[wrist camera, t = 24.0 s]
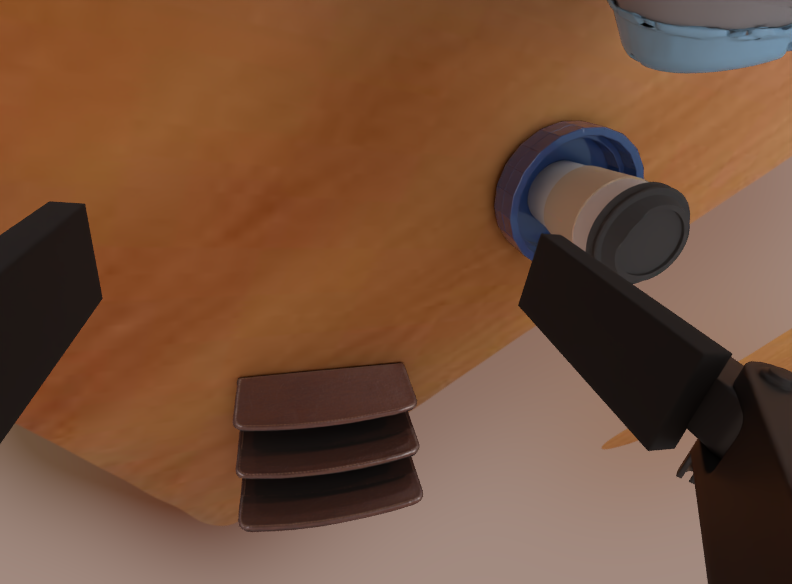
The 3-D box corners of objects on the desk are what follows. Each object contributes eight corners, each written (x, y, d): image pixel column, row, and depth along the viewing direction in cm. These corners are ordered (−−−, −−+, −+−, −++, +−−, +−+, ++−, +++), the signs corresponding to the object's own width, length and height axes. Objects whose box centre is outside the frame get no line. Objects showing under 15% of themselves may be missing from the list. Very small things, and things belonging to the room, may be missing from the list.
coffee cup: (610, 176, 48) (727, 224, 36) (557, 244, 51) (648, 311, 39) (555, 132, 45) (665, 168, 32) (501, 208, 47) (582, 269, 35)
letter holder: (398, 419, 60) (427, 512, 48) (246, 437, 56) (236, 545, 44) (403, 360, 55) (437, 448, 43) (237, 375, 51) (223, 477, 39)
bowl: (528, 100, 43) (552, 106, 39) (639, 143, 48) (670, 152, 44) (472, 236, 49) (488, 253, 45) (575, 262, 54) (597, 279, 50)
